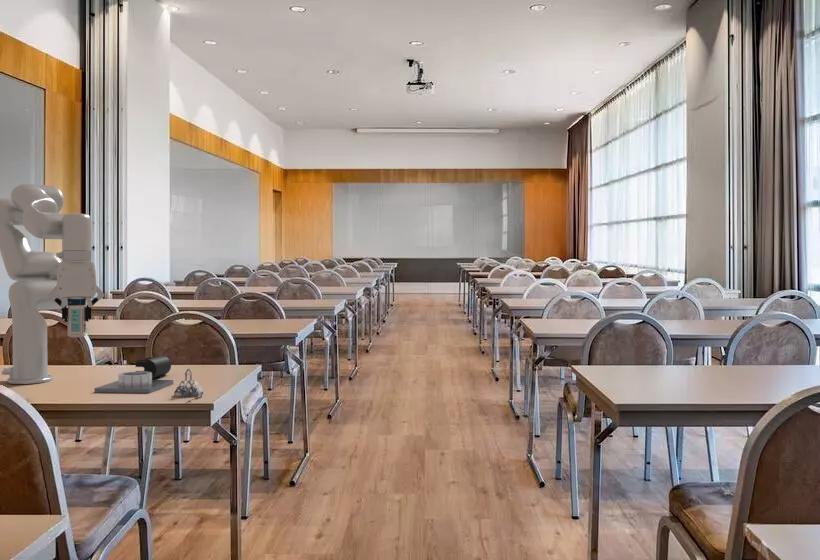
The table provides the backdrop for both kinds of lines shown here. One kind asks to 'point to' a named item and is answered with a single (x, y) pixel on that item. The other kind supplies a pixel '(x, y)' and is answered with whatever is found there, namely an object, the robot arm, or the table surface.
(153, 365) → the end cap
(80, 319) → the beer can
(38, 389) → the table surface
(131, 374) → the grey square plate
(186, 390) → the house of cards
